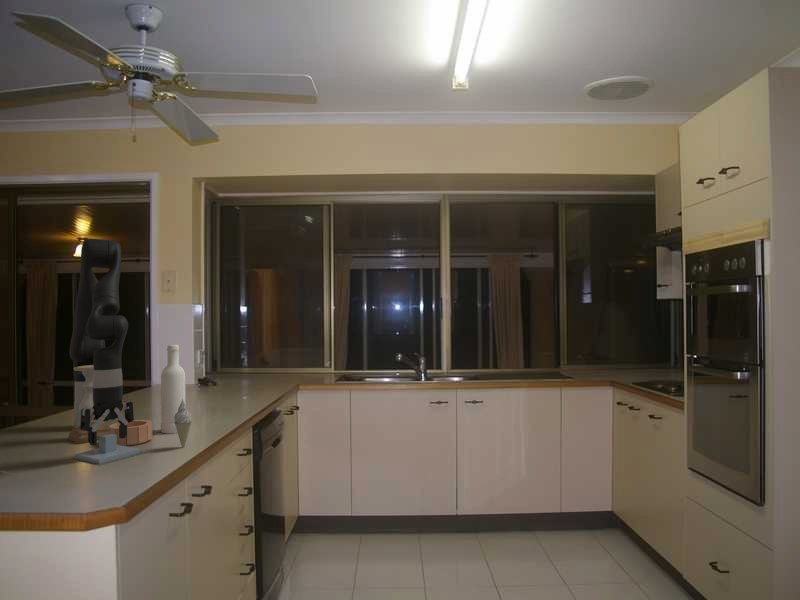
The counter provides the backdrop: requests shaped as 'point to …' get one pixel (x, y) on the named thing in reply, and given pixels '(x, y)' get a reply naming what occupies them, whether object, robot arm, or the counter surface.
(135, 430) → the bowl
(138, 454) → the mat
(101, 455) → the lid
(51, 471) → the counter surface
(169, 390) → the bottle
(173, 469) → the counter surface
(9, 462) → the counter surface
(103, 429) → the candle holder
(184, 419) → the ice cream cone
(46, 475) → the counter surface
